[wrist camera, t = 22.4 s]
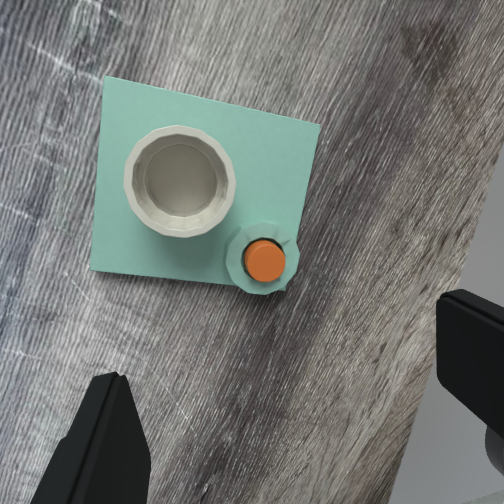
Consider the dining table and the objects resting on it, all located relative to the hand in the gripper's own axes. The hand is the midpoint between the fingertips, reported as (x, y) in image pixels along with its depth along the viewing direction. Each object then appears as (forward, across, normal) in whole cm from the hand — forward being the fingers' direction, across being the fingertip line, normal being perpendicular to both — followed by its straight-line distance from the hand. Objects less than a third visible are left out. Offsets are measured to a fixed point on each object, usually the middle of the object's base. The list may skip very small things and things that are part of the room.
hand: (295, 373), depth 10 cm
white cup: (+18, +2, -5) cm, 19 cm away
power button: (+17, -2, +2) cm, 18 cm away
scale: (+20, +1, -4) cm, 20 cm away
